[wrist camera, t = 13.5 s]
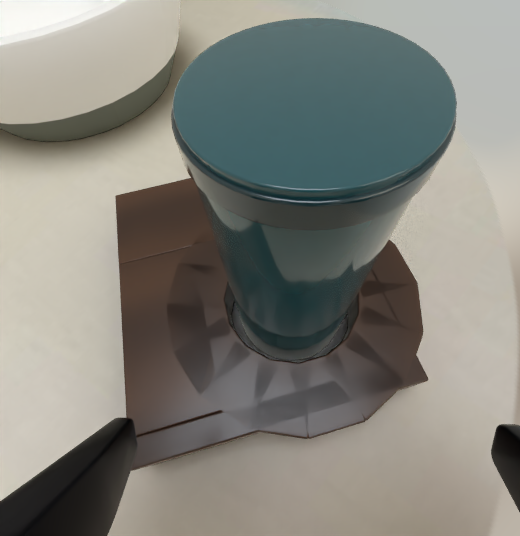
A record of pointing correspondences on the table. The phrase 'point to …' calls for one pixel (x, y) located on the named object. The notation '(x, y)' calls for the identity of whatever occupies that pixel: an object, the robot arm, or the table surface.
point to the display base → (231, 345)
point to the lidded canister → (308, 163)
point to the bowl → (82, 64)
